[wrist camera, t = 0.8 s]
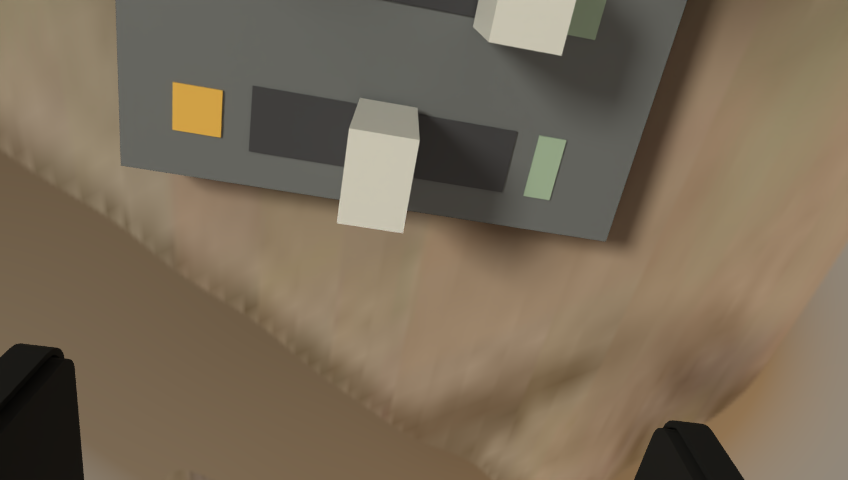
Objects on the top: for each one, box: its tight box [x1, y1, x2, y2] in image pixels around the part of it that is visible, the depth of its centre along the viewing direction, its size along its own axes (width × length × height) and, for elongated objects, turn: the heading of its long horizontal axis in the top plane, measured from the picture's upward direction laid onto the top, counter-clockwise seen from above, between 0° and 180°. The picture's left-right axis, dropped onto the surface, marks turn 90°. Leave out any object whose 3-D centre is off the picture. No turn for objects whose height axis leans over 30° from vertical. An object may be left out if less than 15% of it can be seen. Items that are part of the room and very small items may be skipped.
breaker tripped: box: [337, 98, 420, 233], centre depth 23 cm, size 4×2×5 cm
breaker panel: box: [116, 0, 687, 242], centre depth 26 cm, size 13×22×3 cm, turn 80°
